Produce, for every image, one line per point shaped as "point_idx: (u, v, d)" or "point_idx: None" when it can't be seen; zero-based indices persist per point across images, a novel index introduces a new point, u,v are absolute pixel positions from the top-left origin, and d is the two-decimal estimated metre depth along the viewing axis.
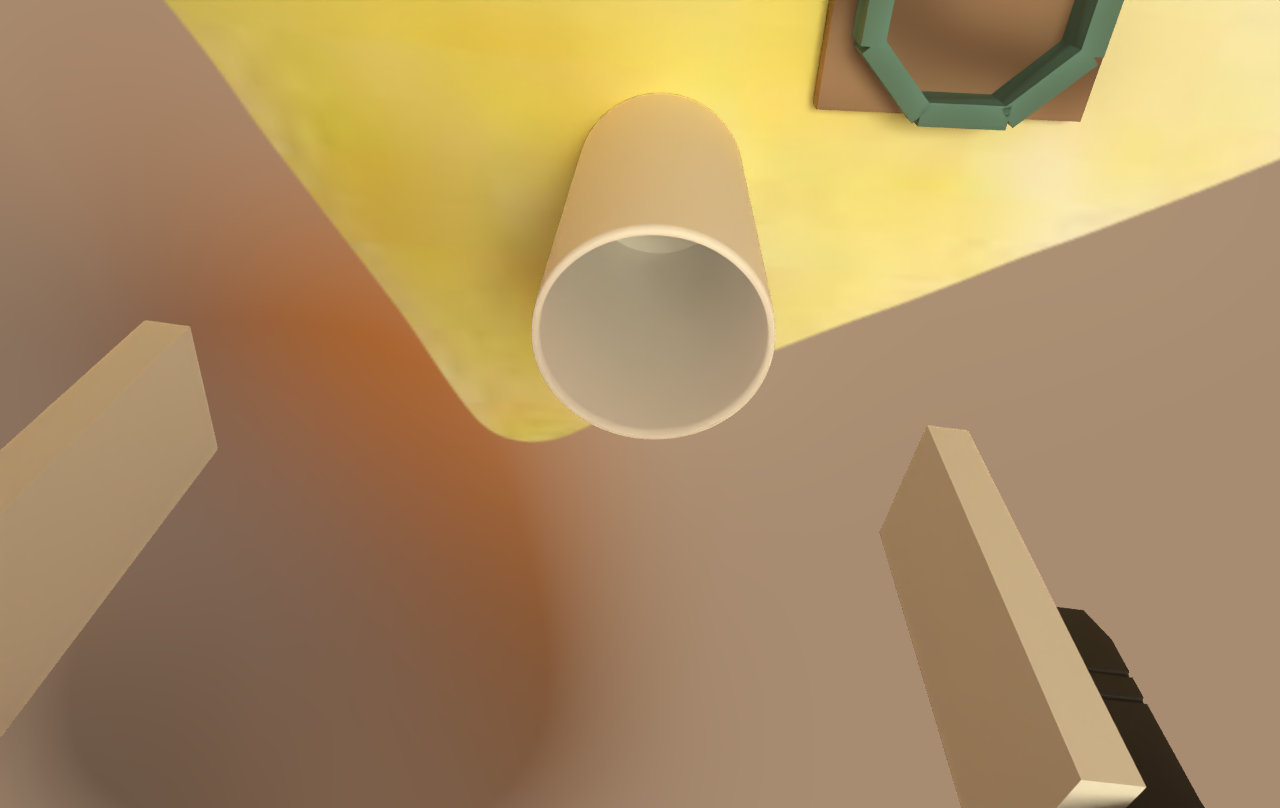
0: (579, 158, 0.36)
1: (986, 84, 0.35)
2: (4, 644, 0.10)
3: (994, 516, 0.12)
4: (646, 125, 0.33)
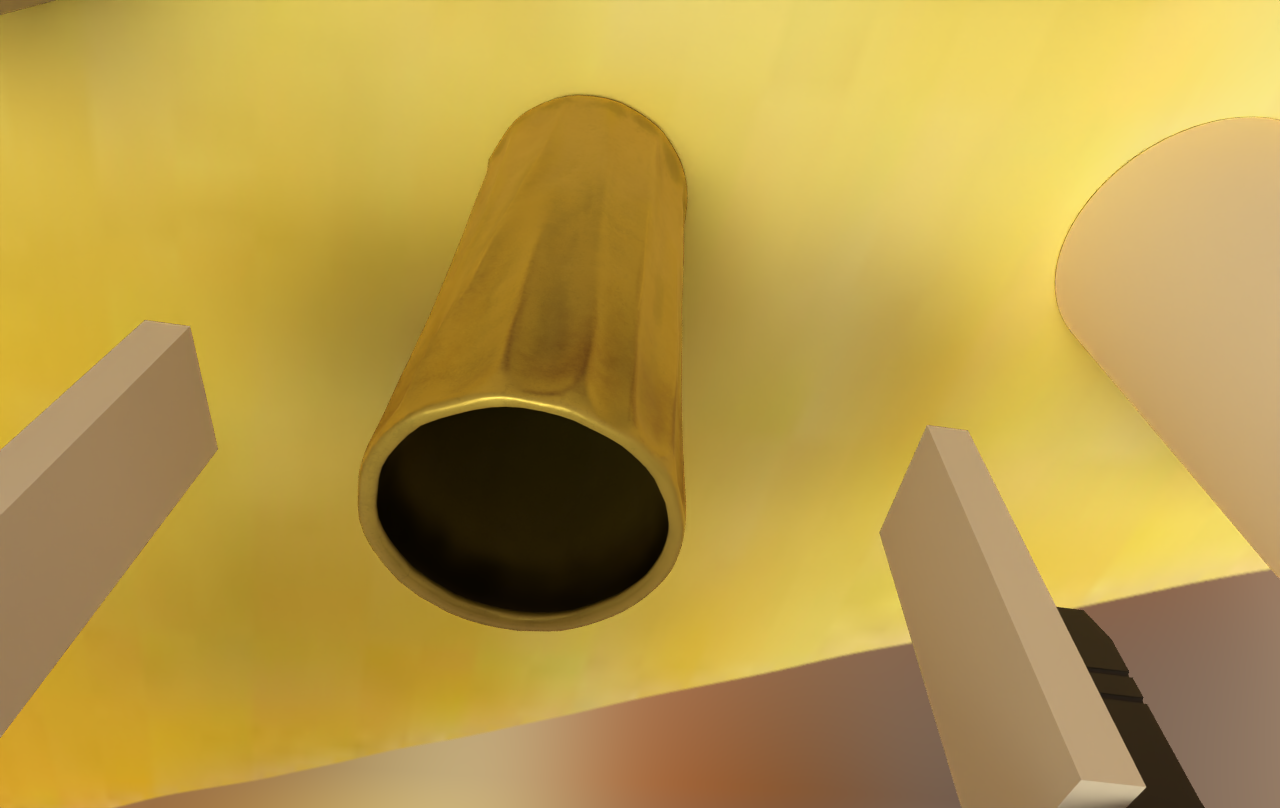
0: None
1: None
2: (4, 644, 0.10)
3: (994, 516, 0.12)
4: (1141, 337, 0.21)
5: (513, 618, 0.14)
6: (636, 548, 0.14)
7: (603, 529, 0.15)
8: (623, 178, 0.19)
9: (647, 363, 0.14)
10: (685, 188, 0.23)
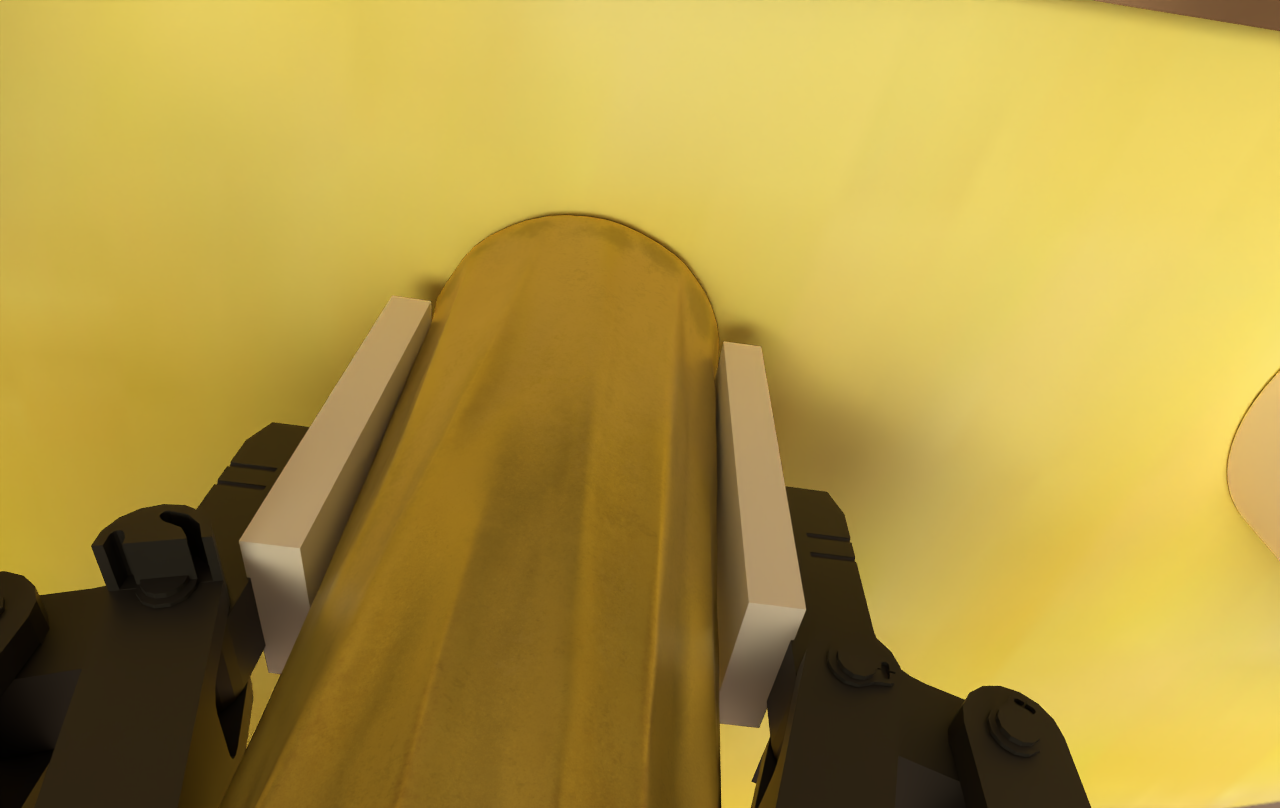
0: None
1: None
2: None
3: (756, 412, 0.14)
4: None
5: None
6: None
7: None
8: (625, 381, 0.12)
9: None
10: (717, 339, 0.16)
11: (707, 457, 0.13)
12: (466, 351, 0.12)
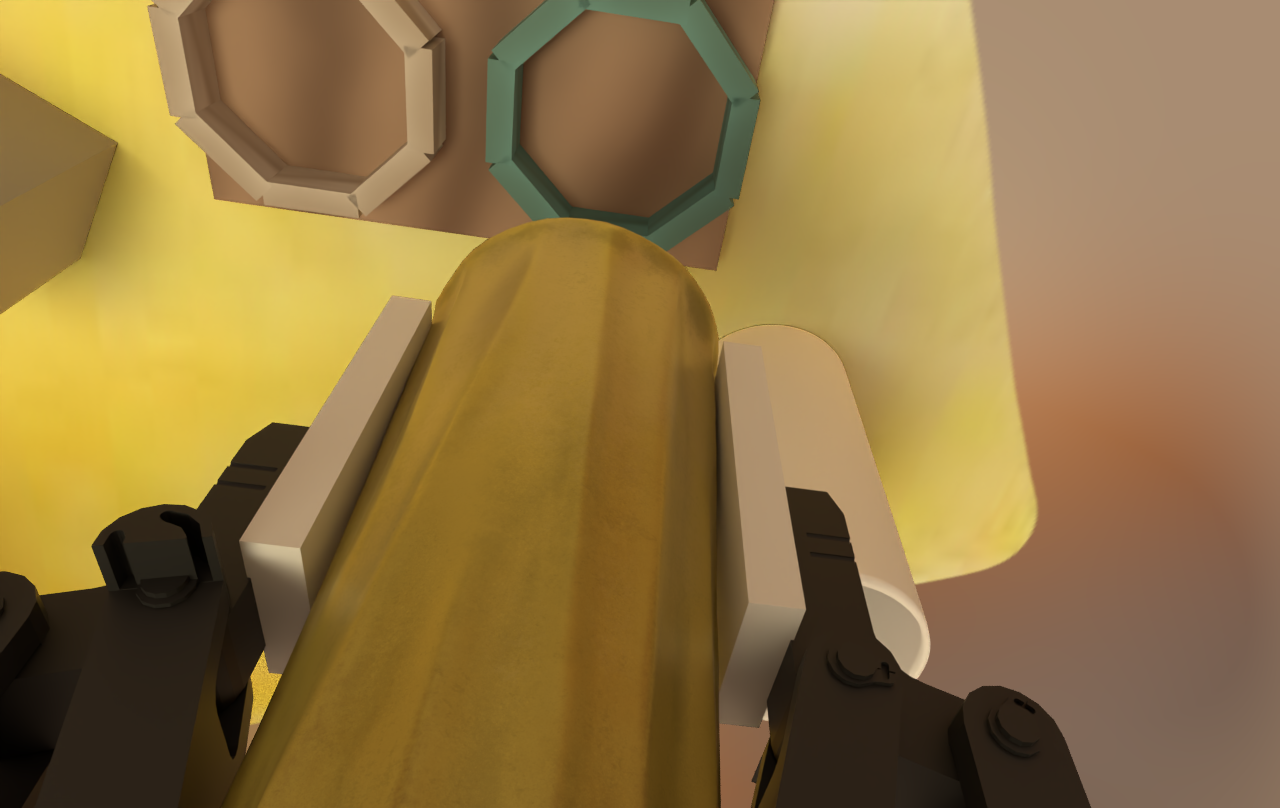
0: None
1: (717, 96, 0.31)
2: None
3: (756, 411, 0.14)
4: None
5: None
6: None
7: None
8: (624, 384, 0.12)
9: None
10: (716, 342, 0.16)
11: (707, 460, 0.13)
12: (466, 354, 0.12)
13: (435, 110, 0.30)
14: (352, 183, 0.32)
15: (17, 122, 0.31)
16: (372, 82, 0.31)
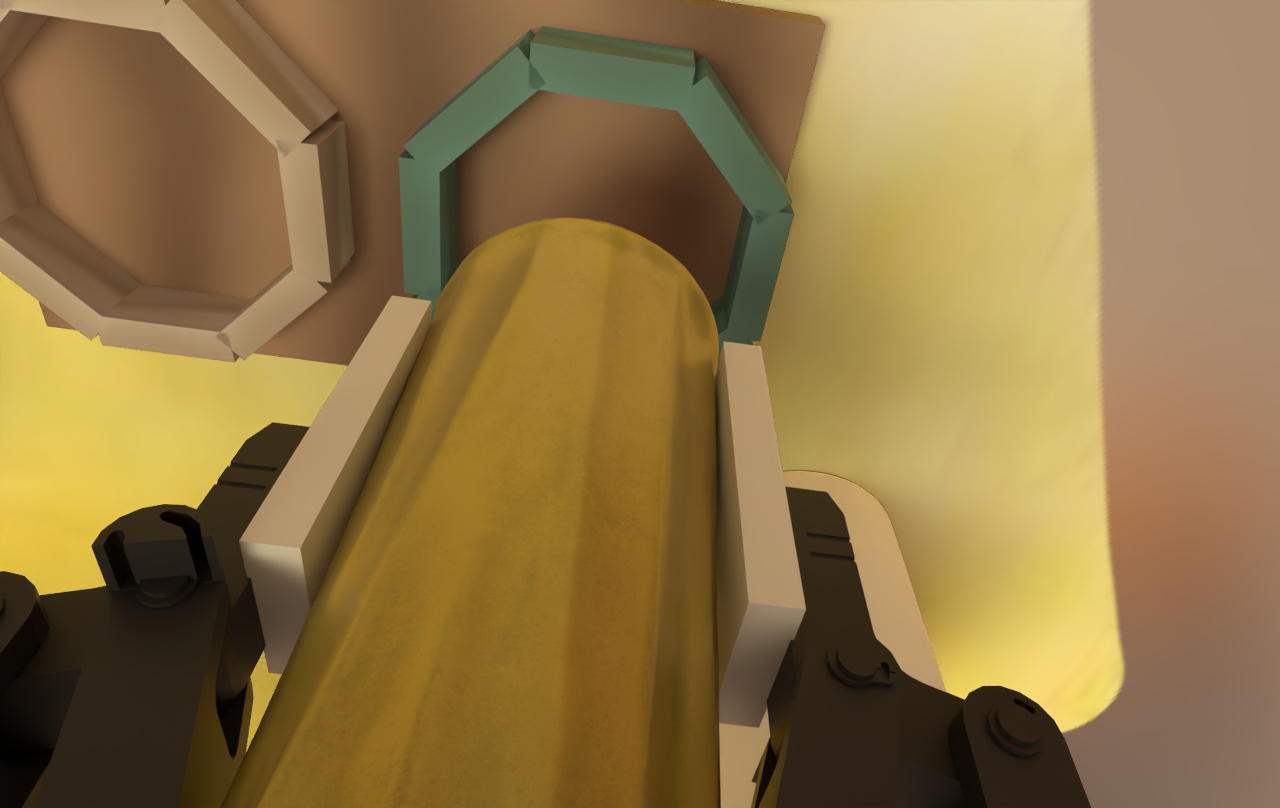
0: None
1: (730, 199, 0.22)
2: None
3: (756, 412, 0.14)
4: None
5: None
6: None
7: None
8: (625, 384, 0.12)
9: None
10: (716, 342, 0.16)
11: (707, 460, 0.13)
12: (466, 354, 0.12)
13: (331, 223, 0.21)
14: (227, 312, 0.23)
15: None
16: (246, 179, 0.22)
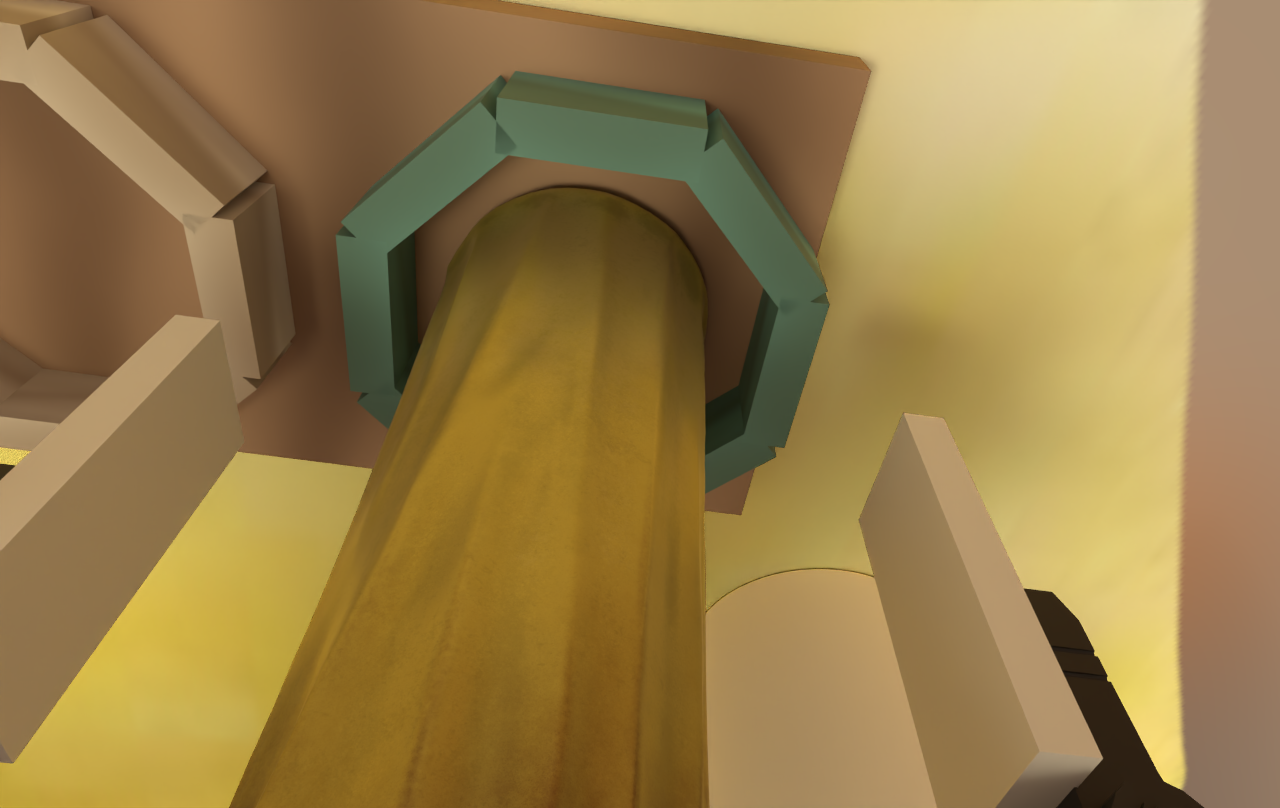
0: None
1: (748, 276, 0.18)
2: (48, 628, 0.10)
3: (965, 500, 0.12)
4: None
5: None
6: None
7: None
8: (622, 334, 0.13)
9: (655, 754, 0.08)
10: (705, 303, 0.18)
11: (696, 405, 0.14)
12: (480, 308, 0.14)
13: (258, 309, 0.17)
14: None
15: None
16: (160, 251, 0.18)
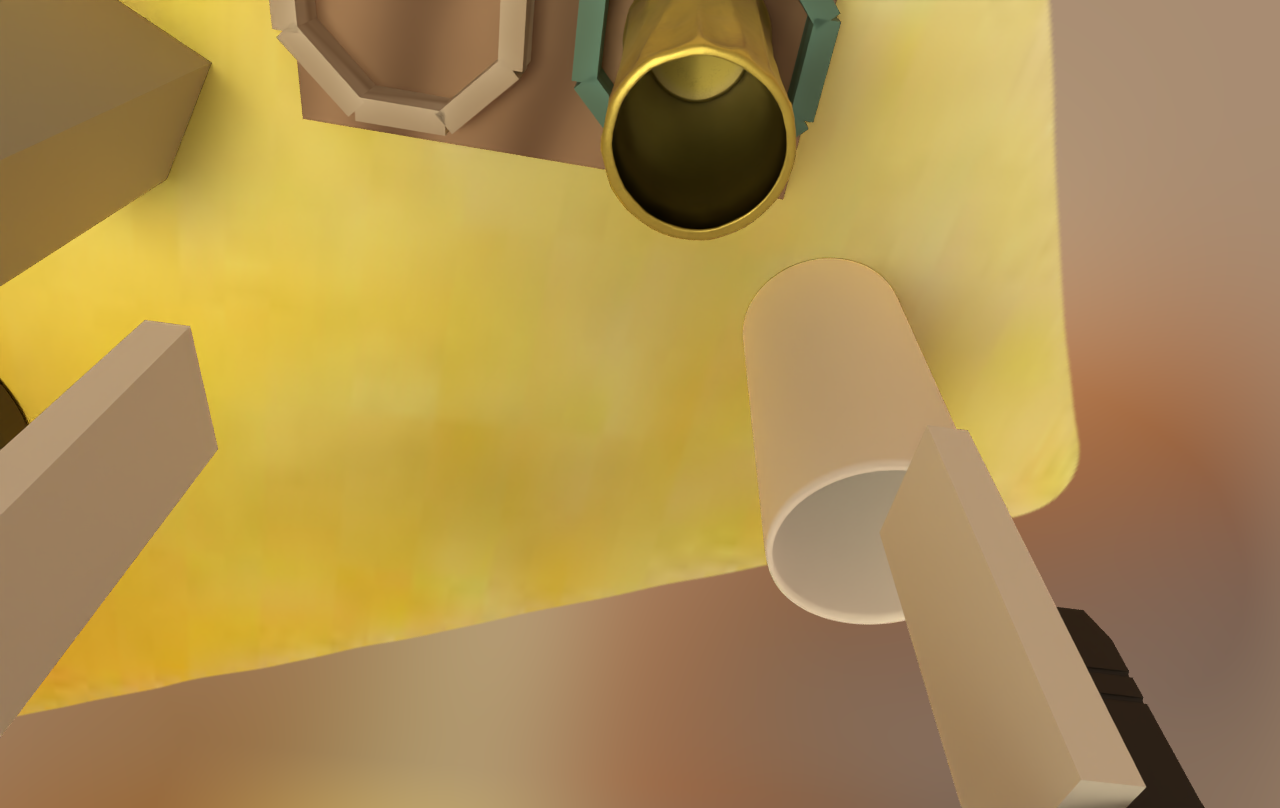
0: None
1: (795, 22, 0.32)
2: (4, 644, 0.10)
3: (994, 516, 0.12)
4: (748, 383, 0.37)
5: (680, 229, 0.22)
6: (757, 192, 0.22)
7: (731, 196, 0.24)
8: None
9: (772, 70, 0.22)
10: (771, 35, 0.32)
11: None
12: None
13: (526, 28, 0.31)
14: (439, 102, 0.34)
15: (123, 35, 0.33)
16: (464, 2, 0.32)
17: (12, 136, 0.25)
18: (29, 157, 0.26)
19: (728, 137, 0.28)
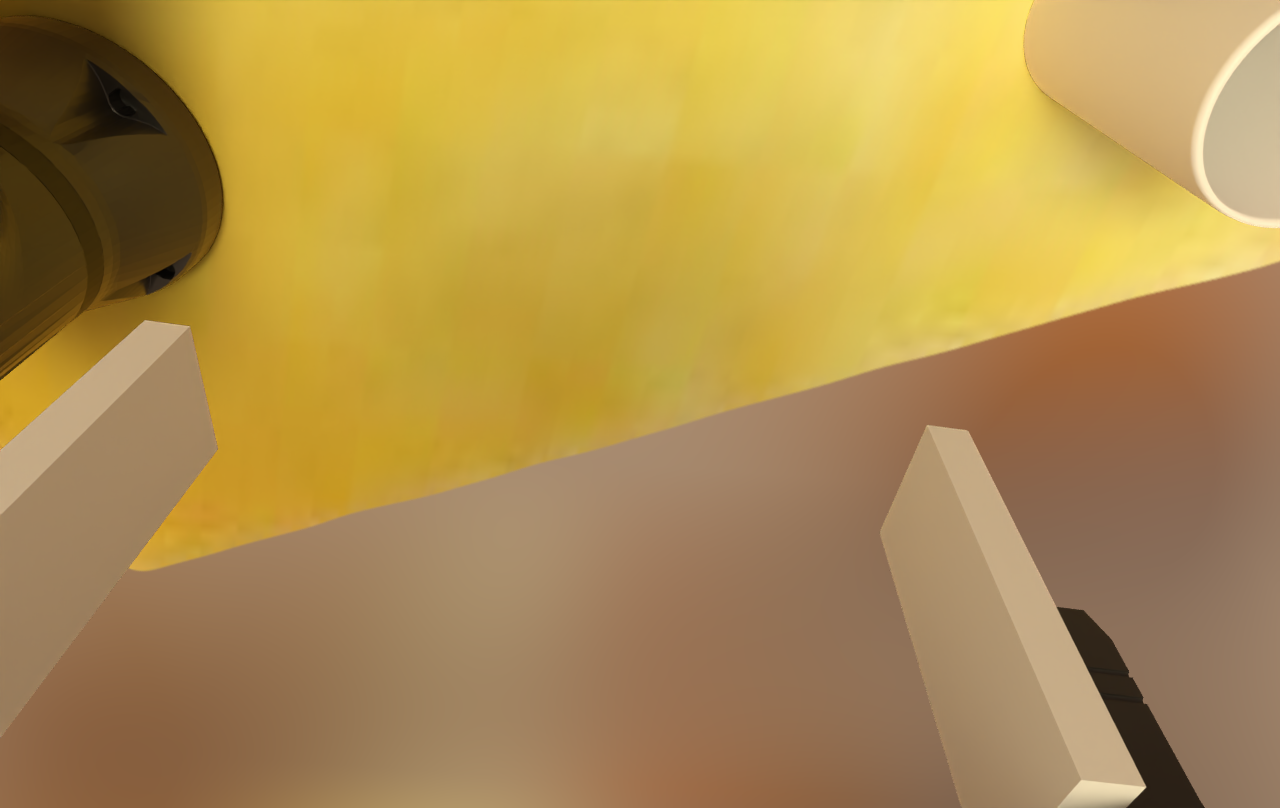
0: None
1: None
2: (4, 644, 0.10)
3: (994, 516, 0.12)
4: (1068, 44, 0.34)
5: None
6: None
7: None
8: None
9: None
10: None
11: None
12: None
13: None
14: None
15: None
16: None
17: None
18: None
19: None
